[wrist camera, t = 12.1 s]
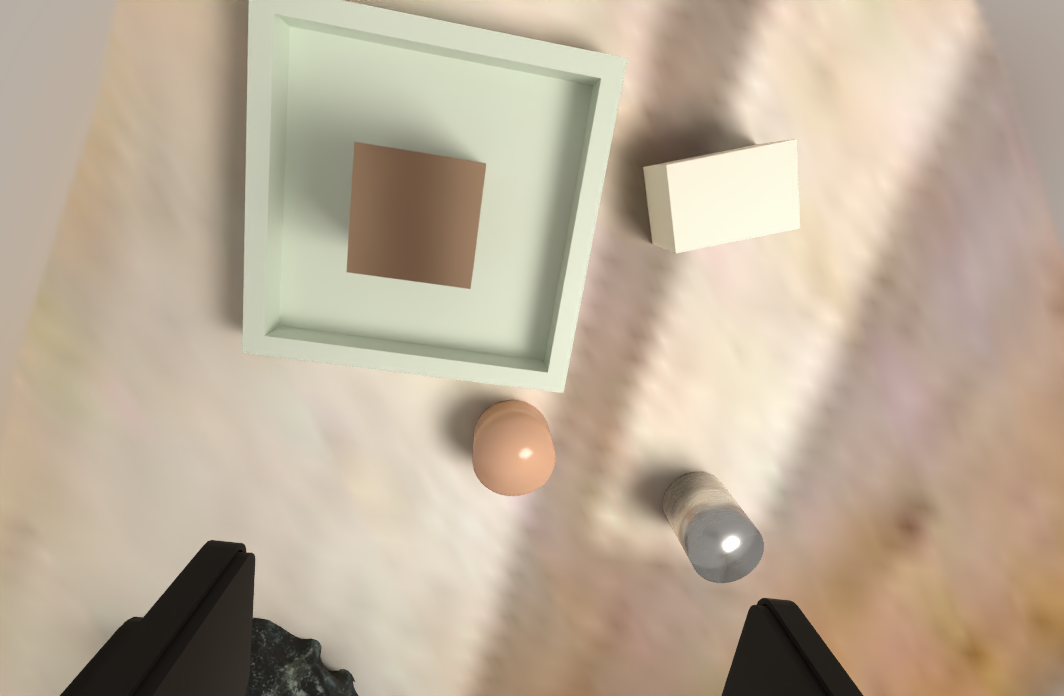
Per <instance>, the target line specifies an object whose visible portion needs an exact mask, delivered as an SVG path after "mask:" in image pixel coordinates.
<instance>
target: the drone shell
mask: <svg viewBox="0 0 1064 696" xmlns="http://www.w3.org/2000/svg"><path fill="white" fill-rule="evenodd" d="M320 653H321V645H320V643H319V642H318V641H317V640H314V639H300V638H298V637H295V636H294V635H292V634H290V633H289V632H287V631H286V630H284V629H283V628H281V627H279V626H278V625H276V624H274V623H273V622H271V621H269V620H265V619H260V618H253V619H252V640H251V661H250V677H249V682H248V685H247V689H246V692H245V694H244V696H358V694H357V693H356V691H355V689H354V686H353V681H354V682H355V680H354V678H353V676H352V674H351V673H350V672H349V671H347V670H345V669H340V670H339V671H334V672H331V671H328V670H327V669H326V668H325V666H324V665H323V663H322V662H321V658H320ZM333 675H334V676H335V677H334V676H333ZM338 679H339V680H338Z"/></svg>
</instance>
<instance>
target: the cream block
mask: <svg viewBox="0 0 1064 696" xmlns="http://www.w3.org/2000/svg"><path fill="white" fill-rule="evenodd" d="M643 170H644V178H645V187H646V195H647V203H648V212H649V220H650V228H651V236H652V244H653V245H656V246H658V247H661V248H664V249H666V250H669V251H671V252H674V253H680V252H685V251H690V250H695V249H700V248H705V247H710V246H715V245H719V244H724V243H729V242H734V241H739V240H744V239H749V238H754V237H759V236H764V235H769V234H774V233H779V232H784V231H789V230H794V229H799V228H800V214H799V190H798V165H797V140H796V139H794V140H787V141H779V142H772V143H764V144H757V145H752V146H747V147H742V148H737V149H732V150H726V151H721V152H716V153H711V154H706V155H701V156H696V157H691V158H686V159H681V160H676V161H671V162H666V163H661V164H656V165H651V166H646V167H643Z"/></svg>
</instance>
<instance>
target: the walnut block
mask: <svg viewBox="0 0 1064 696" xmlns="http://www.w3.org/2000/svg"><path fill="white" fill-rule="evenodd" d="M485 171H486V163H482V162H476V161H470V160H464V159H458V158H451V157H445V156H439V155H433V154H427V153H421V152H415V151H409V150H403V149H397V148H390V147H384V146H378V145H372V144H366V143H360V142H354V155H353V171H352V188H351V205H350V221H349V238H348V255H347V271H346V272H348V273H356V274H363V275H371V276H378V277H385V278H393V279H400V280H407V281H415V282H422V283H429V284H437V285H444V286H451V287H459V288H466V289H471V282H472V275H473V268H474V260H475V251H476V243H477V235H478V227H479V219H480V211H481V203H482V195H483V187H484V179H485Z"/></svg>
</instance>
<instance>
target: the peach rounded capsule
mask: <svg viewBox="0 0 1064 696" xmlns="http://www.w3.org/2000/svg"><path fill="white" fill-rule="evenodd" d="M554 464H555V451H554V447H553V443H552V439H551V435H550V431H549V427H548V424H547V421H546V419H545V417H544V416H543V415H542V413H541V412H540V411H539V410H538V409H536V408H535V407H534V406H532V405H530V404H528V403H525V402H522V401H513V400H511V401H503V402H500V403H497V404H495V405H493V406H491V407H490V408H488V409H487V410H486V411H485V412H484V413H483V414H482V415H481V416H480V418H479V419H478V421H477V423H476V426H475V429H474V442H473V467H474V471H475V473H476V476H477V477H478V479H479V480H480V482H481V483H482V484H483V485H484V486H485V487H487V488H488V489H489V490H491V491H493V492H495V493H498V494H501V495H506V496H519V495H524V494H527V493H530V492H532V491H534V490H536V489H538V488H539V487H540V486H542V485H543V484H544V483H545V482H546V481H547V479H548V478H549V477H550V475H551V473H552V471H553V468H554Z"/></svg>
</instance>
